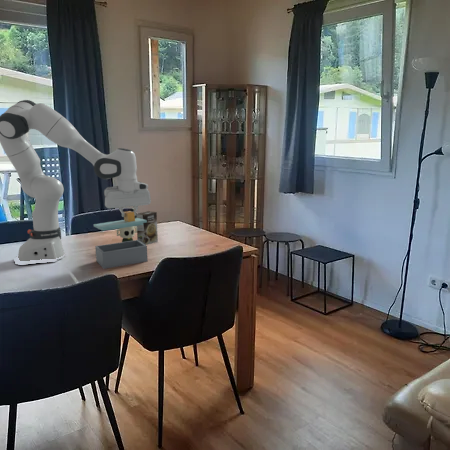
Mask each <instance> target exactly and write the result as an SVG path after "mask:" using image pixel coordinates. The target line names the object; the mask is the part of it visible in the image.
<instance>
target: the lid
mask: <svg viewBox="0 0 450 450" xmlns="http://www.w3.org/2000/svg"><path fill="white" fill-rule="evenodd" d="M124 212H125V213H126V217H123V219H121V220H115V221H107V222H100V223H94V224H93V228H96V229H98V230H101V231H103V232H104V231H112V230H117V229H119V228H125V227H132V226H134V227H135V226H136V227H137V226H138V225H143V223H146V222H147V220H144V219H140V218H136V216H135V215H134V212H133V211H131V210H128V211H124Z"/></svg>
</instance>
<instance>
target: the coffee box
mask: <svg viewBox="0 0 450 450" xmlns="http://www.w3.org/2000/svg"><path fill="white" fill-rule="evenodd" d="M135 218H140V219H144V220H147V222H146V223H143V225H138V226H136V227H137V234H136V235H137V238H136V240H139V241H140V242H142V243H143V244H145V245H146V246H149V245H151V244H155V243H158V242H159V241H158V239H159V238H158V237H159V235H158V213H157V212H156V211H149V210H148V211H143V212H138V213H136V216H135Z"/></svg>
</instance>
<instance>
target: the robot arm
mask: <svg viewBox="0 0 450 450" xmlns="http://www.w3.org/2000/svg"><path fill="white" fill-rule="evenodd" d="M30 130H36V131H38V132H39V133H41V134H42V135H43V136H45V137H46V138H47V139H48V140H49V141H51V142H53V143H54V144H56V145H58V146H60V147H62V148H65V149H71V150H73V151H75V152H76V153H78V154H79V155H81V156H82V157H83V158H85V159H86V160H87V161H89V162H90V163H91V164H92V166H93V170H94V171H93V172H94V173H95V175H96V176H97V177H98V178H100V179H102V180H109V179H112V178H113V179H114V178H116V186H107V187H106V188H105V189H104V190H103V194H104V195H103V196H104V207H106V209H118V210H119V211H120V213H121V217H122V218H124V217H126V213H125V212H126V211H124V208H128V207H133V208H134V209H133V211H132V212H134V215H135V217H136V214H137V211H138V210H139V206H148V205H149V206H150V204H151V202H152V200H151V199H152V198H151V192H150V190H149V184H148V183H144V182H142V181H139V180H138V175H137V171H138V167H137V157H136V154H135V152H134V151H133V150H132V149H128V148H122V147H121V148H120V147H119V148H116V149H115V150H114V151H113V152H110V153H109V154H107V153H104V152H101V151H100V150H98V149H97V148H96V147H95V146H94V145H92V144H91V143H90V142H88V141H87V140H86V139H85V138H84V137H83V136H82V135H81V134H80V132H79V131H78V130H77V129H76V127H74V125H73V124H72V123H71V122H70V121H69V120H68V119H67V118H66V117H64V116H63V115H62V114H61V113H59V112H58V111H56V110H55V109H54V108H52V107H50V106H49V105H47V104H45V103H35V102H34V101H32V100H30V99H29V100H28V99H23V100H19V101H17V102H16V103H15V104H13V105H11V106H9V107H8V108H7V110H6V111H4V112H3V113H1V114H0V145H1V147H2V149H3V151H4V153H5V154H6V156H7V158H8V159H9V161H10V163H11V164H12V166H13V168H14V169H15V171H16V173H17V175H18V178H19V180H20V183H21V189H22V191H23V193H24V194H26V195H27V196H28V197H30V198H33V199H35V203H34V209H33V211H32V212H31V218H32V224H33V225H32V227H33V229H28V230H27V234H29V238H28V239H27V240H26V241H25V242H24V243H23V244H21V245H20V247H19V249H18V254H17V255H18V258H19V260H20V261H30V260H40V259H41V260H42V259H56V258H59V257H61V256H63V255H64V254H65V255H66V252H65V250H64V247H63V243H62V230H61V227H60V223H59V205H60V199H61V198H62V197H63V195H64V191H65V189H64V185H63V182H61V181H60V180H58V179H57V178H56V177H53V176H51V175H50V176H49V175H46V173H44V171H43V169H42V167H41V158H40V157H39V155H38V153H37V152H36V150H35V148H34V147H33V145H32V143H31V142H30V140H29V139H28V137H27V133H29V132H30Z"/></svg>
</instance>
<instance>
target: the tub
mask: <svg viewBox="0 0 450 450" xmlns="http://www.w3.org/2000/svg"><path fill="white" fill-rule="evenodd" d="M94 247H95V258H96V263H97V264H98V265H99V266H100V267H101V268H102V270H106V269H110V268H117V267H123V266H128V265H135V264H139V263H146V262H148V257H149V256H148V245H145V244H143V243H142V242H140V241H139V240H137V239H136V240H135V239H133V241H127V242H122V241H121V242H115V243H108V244H100V245H95V246H94Z"/></svg>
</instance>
